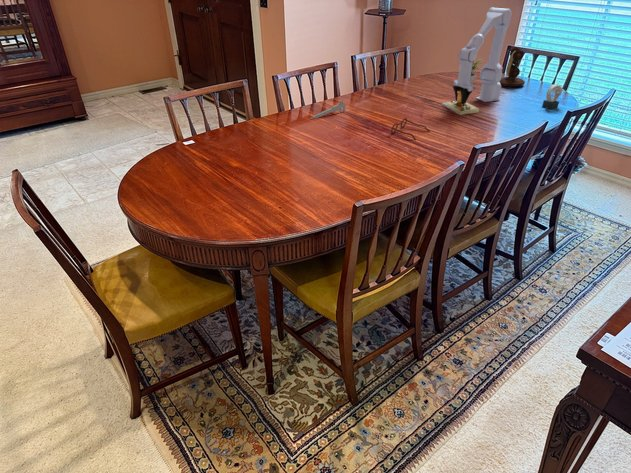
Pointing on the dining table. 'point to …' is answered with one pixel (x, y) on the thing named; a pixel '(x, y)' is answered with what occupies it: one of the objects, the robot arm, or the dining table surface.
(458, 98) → the amber jar
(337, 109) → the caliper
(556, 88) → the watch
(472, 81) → the house plant
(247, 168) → the dining table surface
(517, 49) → the brown carved statue
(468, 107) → the pale green hollowed slab
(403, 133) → the glasses
